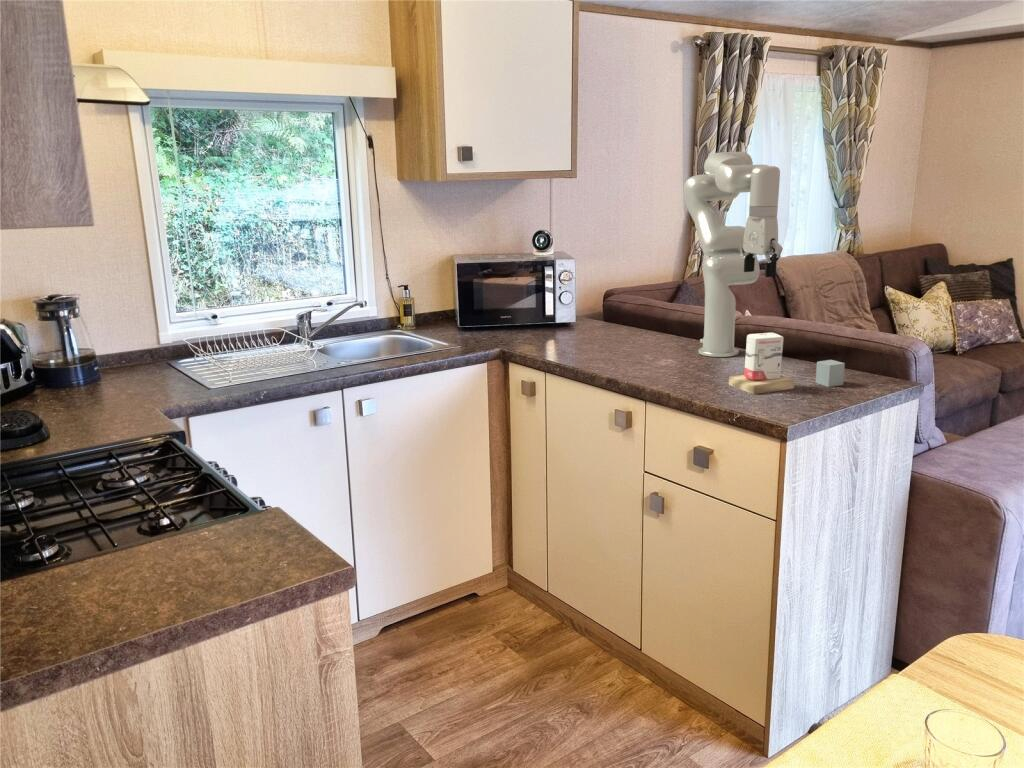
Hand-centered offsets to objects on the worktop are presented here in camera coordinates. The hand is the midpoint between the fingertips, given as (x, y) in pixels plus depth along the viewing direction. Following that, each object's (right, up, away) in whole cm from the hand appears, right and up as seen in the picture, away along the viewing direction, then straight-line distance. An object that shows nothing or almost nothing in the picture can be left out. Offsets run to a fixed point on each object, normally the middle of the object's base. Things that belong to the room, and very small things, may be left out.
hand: (759, 274), depth 226 cm
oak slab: (-2, -32, -7) cm, 33 cm away
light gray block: (+17, -31, -7) cm, 36 cm away
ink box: (-2, -29, -8) cm, 31 cm away
